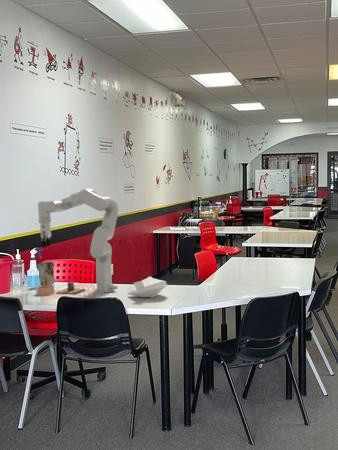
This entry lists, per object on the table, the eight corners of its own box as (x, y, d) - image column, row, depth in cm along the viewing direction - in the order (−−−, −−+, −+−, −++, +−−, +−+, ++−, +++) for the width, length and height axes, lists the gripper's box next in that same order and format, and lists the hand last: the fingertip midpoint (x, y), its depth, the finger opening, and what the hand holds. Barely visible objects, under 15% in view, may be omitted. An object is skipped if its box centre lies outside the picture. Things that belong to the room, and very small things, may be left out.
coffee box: (47, 284, 400) (46, 261, 399) (54, 285, 397) (53, 262, 396) (38, 286, 392) (37, 263, 391) (45, 287, 389) (44, 263, 388)
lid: (85, 290, 372) (84, 281, 371) (75, 294, 359) (75, 284, 359) (66, 289, 376) (66, 280, 375) (56, 293, 363) (56, 284, 363)
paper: (145, 291, 364) (145, 272, 363) (175, 295, 349) (175, 275, 348) (117, 298, 345) (116, 277, 344) (148, 303, 329) (147, 281, 329)
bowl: (56, 293, 366) (56, 285, 366) (48, 296, 357) (48, 288, 356) (42, 292, 370) (42, 285, 369) (34, 295, 360) (33, 287, 360)
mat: (87, 291, 372) (87, 290, 372) (76, 295, 358) (76, 294, 358) (66, 290, 377) (66, 289, 377) (54, 294, 363) (54, 293, 363)
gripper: (47, 220, 369) (48, 247, 370) (53, 219, 386) (54, 244, 387) (35, 221, 369) (37, 248, 370) (42, 219, 387) (43, 245, 388)
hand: (46, 246), depth 379 cm, fingers open, 9 cm apart
